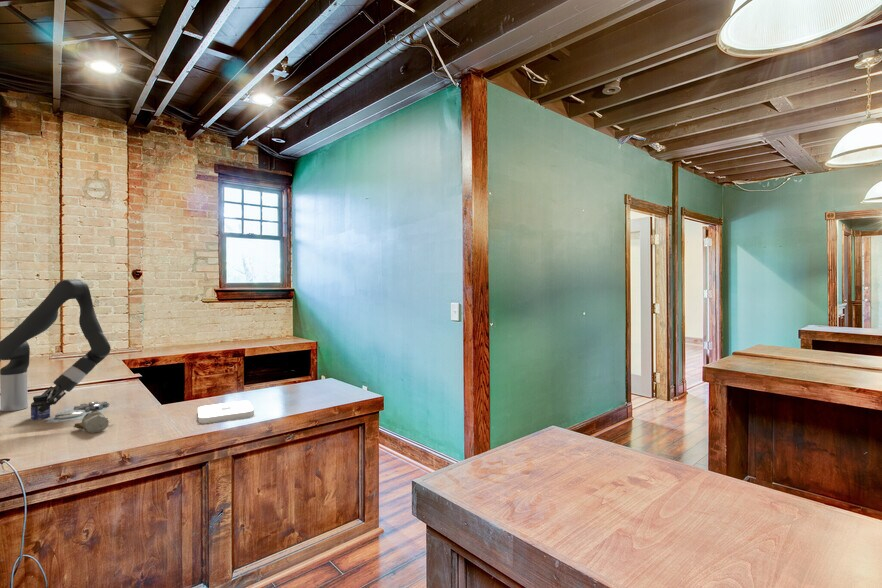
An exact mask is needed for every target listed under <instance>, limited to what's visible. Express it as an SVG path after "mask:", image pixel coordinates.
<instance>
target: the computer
mask: <svg viewBox="0 0 882 588" xmlns="http://www.w3.org/2000/svg"><path fill="white" fill-rule="evenodd" d="M251 403H252V402H250V401H249V400H239V401H230V402H224V403H215V404H208V405H202V406H198V408H197V420H198V421H197V422H198V423H199V424H208V423H217V422H223V421H231V420H237V419H243V418H250V417H253V416H254V415H255V409H254V407H253V405H252V404H251Z"/></svg>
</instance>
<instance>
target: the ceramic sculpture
mask: <svg viewBox="0 0 882 588" xmlns="http://www.w3.org/2000/svg"><path fill="white" fill-rule="evenodd" d="M109 423H110V422H109V418H108V417H106V416H105V415H104V414H103V412H100V411H97V410H95V409H94V410H92V411H91V412H90V413H87V414H86V415H85V416H84V418H83V419H81V422H77V423H74V427H75V428H76V429H79V430H83V429H85V430H86V431H87V432H88V433H90V434H91V433H92V434H97V433H100V432H103V431H105V430H106V429H107V427H108V425H109Z"/></svg>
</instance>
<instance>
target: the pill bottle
mask: <svg viewBox="0 0 882 588" xmlns="http://www.w3.org/2000/svg"><path fill="white" fill-rule="evenodd" d="M47 398H48V395H42V394H41V395H40V394H39V395H35V396H33V397H32V401H33V402H32V403H31V404H30V420H31V421H40V420H41V421H42V420H46V419H49V418H51V406H49V407H48V408H47V409H46V410H45V411H44V412H43V413H42V412H40V411H38V409H39V408H40V407H41V406H42V405H43V404H44V403H46V401H47Z"/></svg>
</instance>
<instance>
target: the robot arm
mask: <svg viewBox="0 0 882 588" xmlns="http://www.w3.org/2000/svg"><path fill="white" fill-rule="evenodd" d="M91 294H92V293H91V290H90V287H89V285H88V283H87V282H86V281H85V280H83V279H75V278H74V279H63V280H61V281H59V282H58V283H56V284H55V286H54V287H53V288H52V290H51V291H50V292H49V294H47V296H46V298H44V299H43V300H42V302H41V303H40V304H39V305H38V306H37V307H36V308H35V309H33V310H32V312H30V314H29V315H28V316H26V318H25V319H24V320H23V321H22V322H21V323H19V325H17V326H16V327H15V329H13V331H11V332H10V333H9V334H8V335H6V336H5V337H4V338H3V339H1V340H0V361H9V362H8V363H7V364H6V365H4V366H3V367H1V368H0V411H1V412H15V411H20V410H24V409H26V408H28V407H29V403H28V402H29V401H28V400H29V399H28V398H29V397H28V396H29V395H28V394H29V393H28V391H29V390H28V388H29V387H28V368H29V366H30V355H31V350H30V349H31V348H30V344H29V343H28V341H29V340H30V339H33V338H35V337H36V336H38V335H39V336H40V335H41V334H42V333H44V332H45V331H46V330H48V329H49V328H50V327H51V326H52V325H54V324H55V322H56V321H57V318H58V316H59V309H60V307H61V306H63V305H64V304H66V302H68V301H69V300H74V299H75V300H76V302H77V303H78V306H79V310H80V311H79V318H78V319H79V321H78V323H79V327H80V330H81V332H82V334H83V336H84V338H85V340H87V342H88V344H89V347H90V350H89V351H88V352H87V353H85V354H84V355H83V356H82V357H80V358H79V359H78V360H77V361H76V362H74V363H73V364H72V365H71V366H69V368H67V369H66V370H64V372H63V373H62V374H60V375H59V376H58V377H57V378H56V379H55V380H54V381H53V382H52V383H53V384H54V385H55V386H54V387H53V386H50V387H49V388H48V389H46V390H45V391H43V393H42V394H41V395H48V398H47V401H46V403H44V404H43V405H42V406H41V407H40V408H39V409H38V411H40V412H42V413H43V412H44V411H45V410H46V409H47V408H48V407H49V406H50V407H51V406H53V405H54V406H55V405H56V404H58V402H59V401H60V400H61V399H62V398H63V397H64V396H65V395H66V394H67V392H69V393H70V392H71V391H72V390H73V389H74V388H76V387H77V386H78V384H80V382H82V380H84V379H85V378H86V376H88V374H89V373H90V372H91V371H92V370H93V369H95V367H96V366H98V365H99V363H101V362H102V361H104V360H105V358H106V357H107V356H108V355H109V354H111V353H110V352H111V348H112V347H111V345H110V342H109V341H108V339H107V337H106V336H105V334H104V331H103V329H102V327H101V323H100V322H99V320H98V318H97V315H96V312H95V308H94V303H93V300H92V296H91Z"/></svg>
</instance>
